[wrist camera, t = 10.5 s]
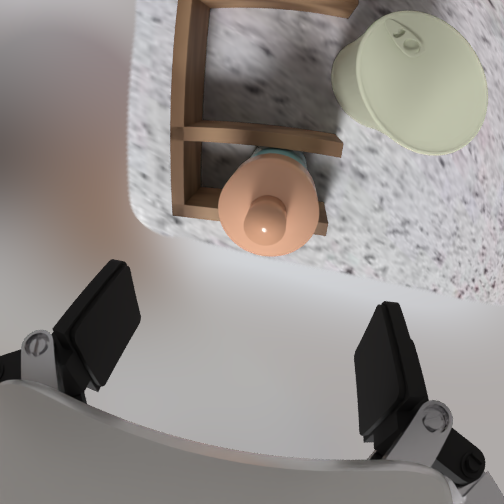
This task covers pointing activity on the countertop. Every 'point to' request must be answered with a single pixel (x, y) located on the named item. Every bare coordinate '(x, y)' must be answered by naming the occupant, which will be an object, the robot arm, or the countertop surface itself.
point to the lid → (269, 205)
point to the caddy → (197, 130)
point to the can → (413, 83)
